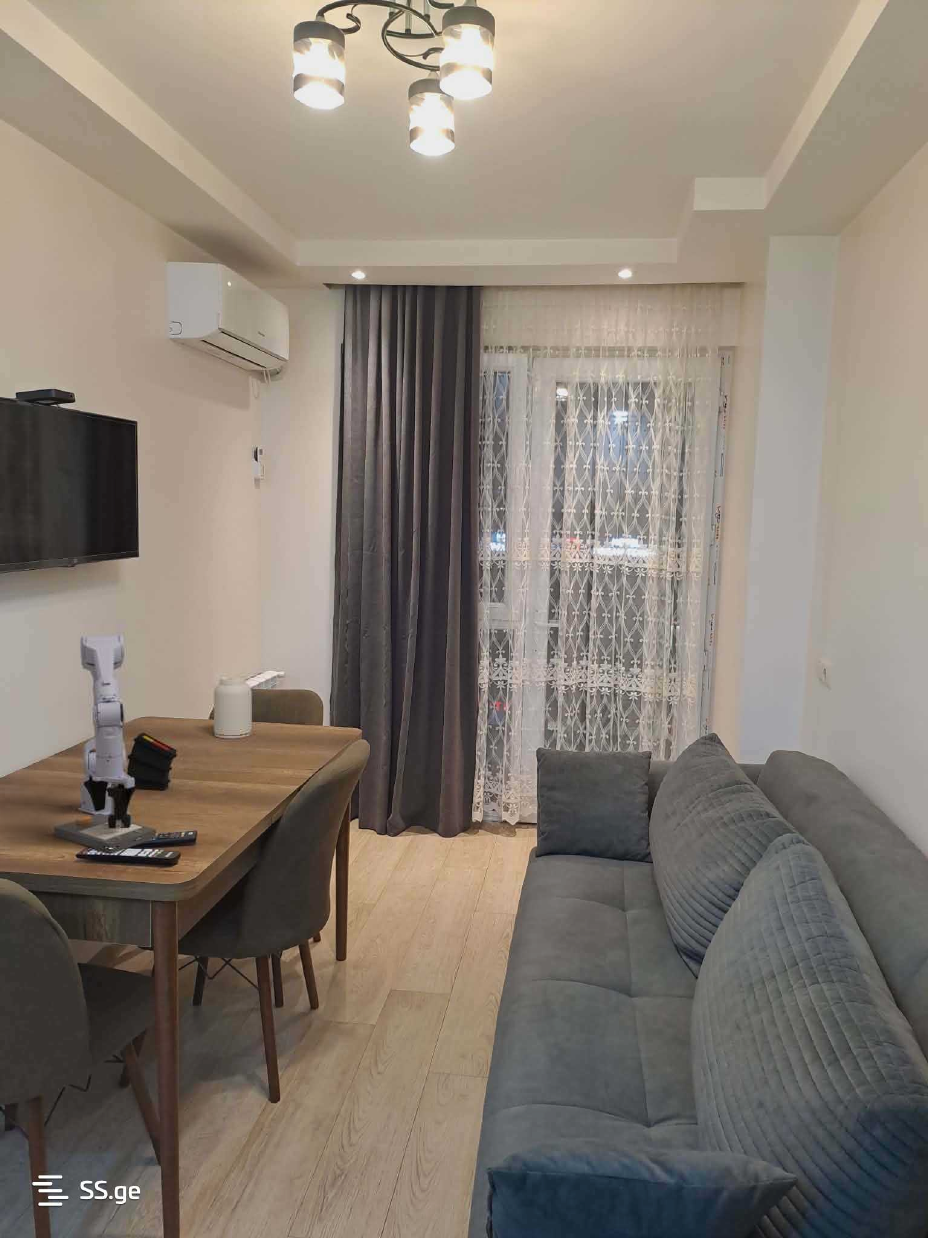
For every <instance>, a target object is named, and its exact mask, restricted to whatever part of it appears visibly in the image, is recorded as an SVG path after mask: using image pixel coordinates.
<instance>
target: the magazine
mask: <svg viewBox="0 0 928 1238" xmlns="http://www.w3.org/2000/svg"><path fill="white" fill-rule="evenodd" d="M133 742H134V744H133V746H132V748H131V752H130V753H129V754H128V755H127V757H126V760H127V759H128V760H129V761H128V765H127V768H126V772H127V773H126V774H127V775H129V776H130V777H132V778H134V784H135V785H136V790H148V791H150V790H151V791H165V790H167V789H168V788H169V784H170V783H171V781H172V779H170V777H169V776H170V771H172V769H173V767H171V765H172V763H173V761H174V759H175V758H177V756H178V754H177V752H178V750H177V749H176V748H173V747H172V746H169V745H168V744H165V743H164V742H162V741H160V740H158V739H157V738H154V737H152V736H151V735H148V733H145V732H141V733H139V734H137V736H136V737H135V738H134V739H133Z"/></svg>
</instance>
